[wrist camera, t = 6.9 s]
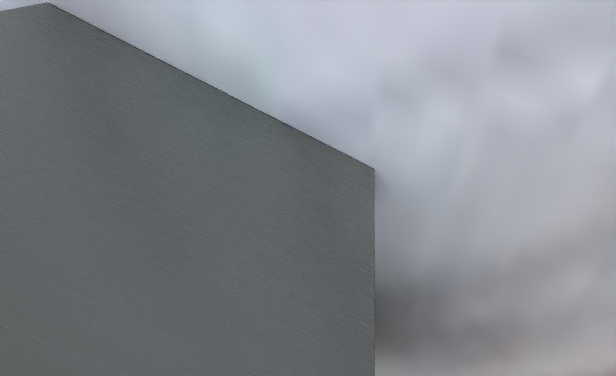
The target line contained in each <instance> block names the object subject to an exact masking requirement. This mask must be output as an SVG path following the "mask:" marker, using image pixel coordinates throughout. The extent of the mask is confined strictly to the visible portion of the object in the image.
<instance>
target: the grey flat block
mask: <svg viewBox="0 0 616 376" xmlns="http://www.w3.org/2000/svg"><path fill="white" fill-rule="evenodd" d="M0 376H375V293H374V169H372V168H370V167H368V166H366V165H364V164H362V163H360V162H358V161H357V160H355V159H353V158H351V157H349V156H347V155H345V154H343V153H341V152H339V151H337V150H335V149H333V148H331V147H329V146H327V145H325V144H323V143H321V142H319V141H317V140H315V139H313V138H311V137H309V136H307V135H305V134H304V133H302V132H300V131H298V130H296V129H294V128H292V127H290V126H288V125H286V124H284V123H282V122H280V121H278V120H276V119H274V118H272V117H270V116H268V115H266V114H264V113H262V112H260V111H258V110H256V109H254V108H252V107H251V106H249V105H247V104H245V103H243V102H241V101H239V100H237V99H235V98H233V97H231V96H229V95H227V94H225V93H223V92H221V91H219V90H217V89H215V88H213V87H211V86H209V85H207V84H205V83H203V82H201V81H199V80H198V79H196V78H194V77H192V76H190V75H188V74H186V73H184V72H182V71H180V70H178V69H176V68H174V67H172V66H170V65H168V64H166V63H164V62H162V61H160V60H158V59H156V58H154V57H152V56H150V55H148V54H146V53H145V52H143V51H141V50H139V49H137V48H135V47H133V46H131V45H129V44H127V43H125V42H123V41H121V40H119V39H117V38H115V37H113V36H111V35H109V34H107V33H105V32H103V31H101V30H99V29H97V28H95V27H93V26H92V25H90V24H88V23H86V22H84V21H82V20H80V19H78V18H76V17H74V16H72V15H70V14H68V13H66V12H64V11H62V10H60V9H58V8H56V7H54V6H52V5H50V4H48V3H42V4H37V5H32V6H26V7H21V8H16V9H10V10H5V11H0Z"/></svg>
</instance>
